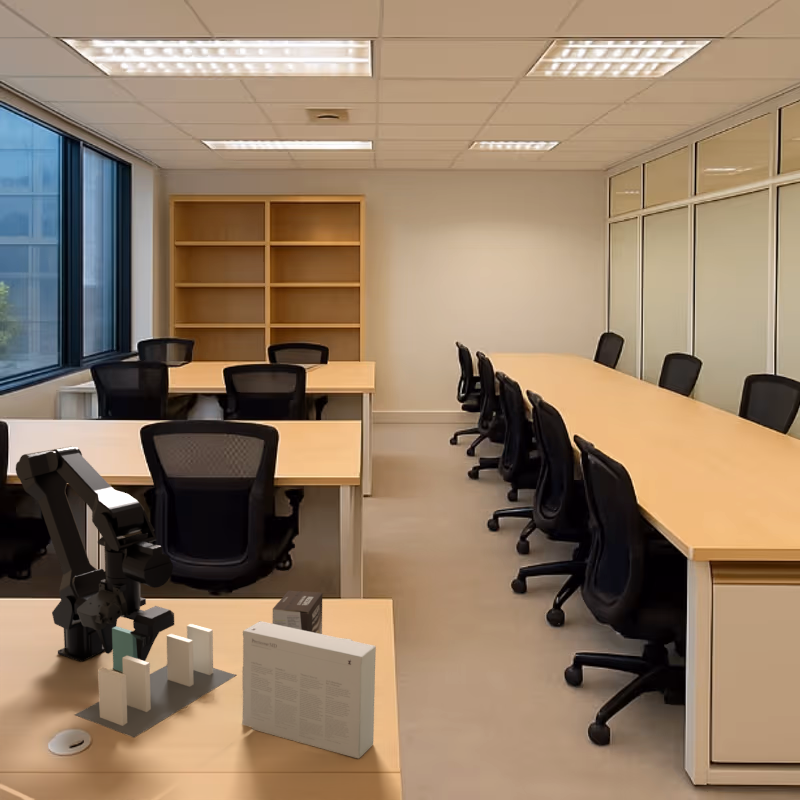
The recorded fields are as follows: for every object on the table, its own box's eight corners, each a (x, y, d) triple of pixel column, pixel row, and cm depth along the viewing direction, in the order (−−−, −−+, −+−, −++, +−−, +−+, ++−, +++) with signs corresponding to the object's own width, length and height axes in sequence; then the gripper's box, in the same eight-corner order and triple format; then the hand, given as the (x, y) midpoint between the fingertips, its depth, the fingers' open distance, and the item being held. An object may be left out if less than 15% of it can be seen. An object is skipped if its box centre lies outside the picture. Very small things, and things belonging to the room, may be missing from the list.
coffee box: (308, 704, 147) (308, 612, 144) (270, 700, 148) (270, 608, 145) (323, 679, 156) (324, 591, 153) (288, 675, 157) (288, 588, 154)
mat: (74, 716, 141) (74, 714, 141) (180, 659, 162) (180, 657, 162) (134, 739, 135) (134, 737, 135) (236, 677, 156) (236, 675, 156)
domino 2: (123, 703, 145) (122, 657, 144) (128, 701, 146) (126, 655, 145) (146, 712, 143) (144, 665, 141) (150, 709, 143) (149, 662, 142)
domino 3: (167, 679, 154) (166, 635, 152) (171, 677, 154) (170, 633, 153) (189, 686, 151) (188, 642, 150) (193, 684, 152) (192, 640, 151)
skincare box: (376, 743, 136) (377, 644, 133) (359, 760, 131) (361, 659, 128) (260, 711, 144) (259, 618, 142) (240, 726, 140) (239, 631, 137)
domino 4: (187, 668, 158) (186, 625, 157) (191, 666, 159) (190, 623, 157) (209, 675, 155) (208, 631, 154) (213, 672, 156) (212, 629, 155)
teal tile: (113, 671, 157) (111, 628, 156) (117, 668, 158) (116, 626, 157) (133, 677, 155) (132, 634, 154) (138, 675, 156) (136, 632, 154)
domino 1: (99, 717, 141) (98, 669, 139) (104, 714, 142) (103, 667, 140) (122, 725, 138) (121, 677, 137) (127, 723, 139) (125, 675, 138)
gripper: (47, 576, 151) (50, 663, 154) (126, 598, 142) (129, 690, 145) (98, 558, 161) (101, 639, 163) (175, 578, 152) (177, 664, 154)
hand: (125, 658), depth 156 cm, fingers open, 8 cm apart
